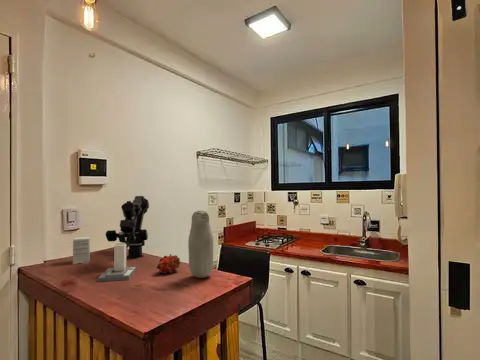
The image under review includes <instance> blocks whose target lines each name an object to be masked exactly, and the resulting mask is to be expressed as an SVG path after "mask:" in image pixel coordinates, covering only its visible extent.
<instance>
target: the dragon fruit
mask: <svg viewBox="0 0 480 360" xmlns="http://www.w3.org/2000/svg"><path fill="white" fill-rule="evenodd" d="M180 266H181V258H179V257H178V255H176V254H175V255H172V254H171V253H170V254H169V255H164V256H163V257H162V258H160V259H159V261H158V263H157V266H156V269H158V270H159V271H158V272H159V274H167V273H170V274H172V273H174V272H175V271H176V270H177V269H179V268H180Z"/></svg>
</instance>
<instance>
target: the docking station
mask: <svg viewBox="0 0 480 360" xmlns="http://www.w3.org/2000/svg"><path fill="white" fill-rule="evenodd" d="M136 271H137V266H131V265H126V268H125V270H124V271H114V267H110V268H107V269H106V270H105V271H104V272H103V273H101V275H100V276H98V277H97V282H99V283H100V282H112V281H113V282H114V281H115V282H116V281H128V280H129V281H130V280H131V278H132V277H133V275H134V273H136Z"/></svg>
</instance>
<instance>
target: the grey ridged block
mask: <svg viewBox="0 0 480 360" xmlns="http://www.w3.org/2000/svg"><path fill="white" fill-rule="evenodd" d="M90 252H91V237H90V236H80V237H79V236H77V237H74V238H73V240H72V265H79V264H78V263H82V264H89V263H88V262H90V261H91V258H90V257H91V253H90Z"/></svg>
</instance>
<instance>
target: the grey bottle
mask: <svg viewBox="0 0 480 360" xmlns="http://www.w3.org/2000/svg"><path fill="white" fill-rule="evenodd" d="M187 242H188V243H187V244H188V246H187V247H188V248H187V249H188V269H189V272H190V273H191V275H192V276H193V277H195V278H198V279H205V278H207V277H209V276H210V275H211V273H212V271H213V268H214V236H213V232H212V229H211V224H210V215H209V213H208V212H207V211H205V210H196V211H194V212H193V213H192V215H191V223H190V230H189V235H188V241H187Z"/></svg>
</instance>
